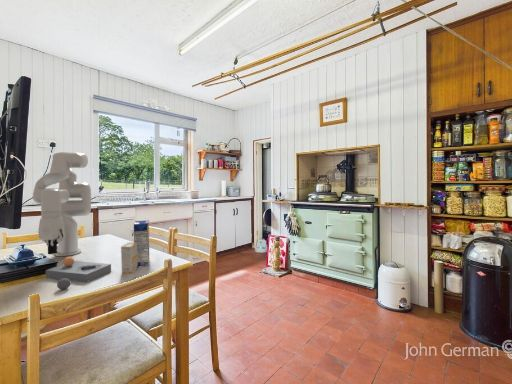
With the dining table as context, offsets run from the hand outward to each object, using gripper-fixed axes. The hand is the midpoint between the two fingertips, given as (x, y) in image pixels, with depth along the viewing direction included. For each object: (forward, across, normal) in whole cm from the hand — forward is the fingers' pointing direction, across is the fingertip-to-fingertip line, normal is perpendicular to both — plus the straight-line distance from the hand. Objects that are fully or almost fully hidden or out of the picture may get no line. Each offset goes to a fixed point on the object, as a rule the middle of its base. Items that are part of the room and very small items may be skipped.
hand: (52, 253), depth 125 cm
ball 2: (+8, +22, -14) cm, 28 cm away
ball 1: (+4, +8, +1) cm, 9 cm away
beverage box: (+9, +32, +22) cm, 40 cm away
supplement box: (+10, +33, +11) cm, 36 cm away
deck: (+9, +14, +1) cm, 17 cm away
